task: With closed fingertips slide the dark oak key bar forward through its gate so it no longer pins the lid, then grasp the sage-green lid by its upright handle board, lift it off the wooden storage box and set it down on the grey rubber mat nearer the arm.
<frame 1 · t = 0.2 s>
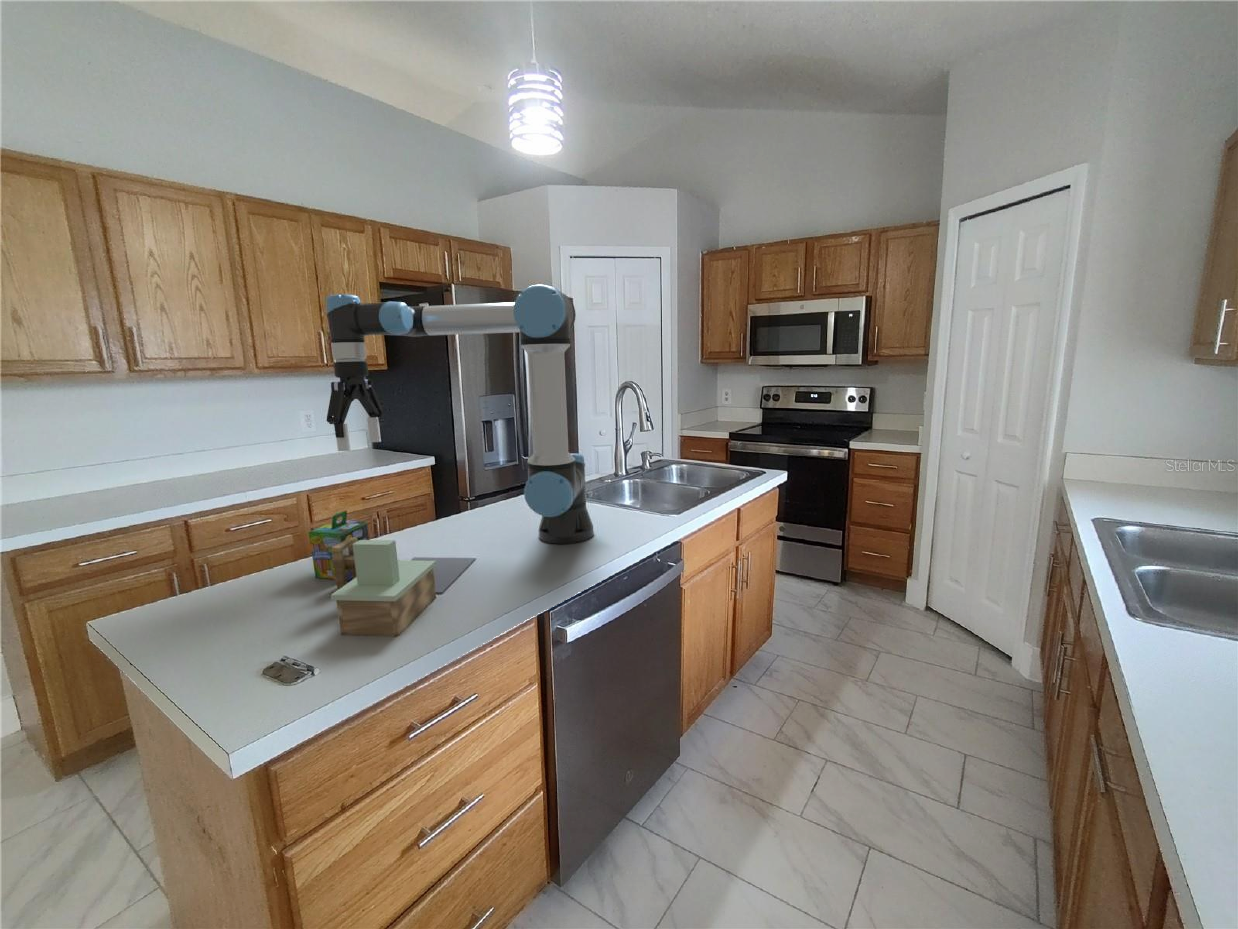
hand: (360, 446, 139), 28 cm above the countertop, fingers open, 13 cm apart
chalk box: (344, 573, 131), on the countertop
wooden storage box: (391, 615, 108), on the countertop
key: (360, 557, 110), point 10 cm above the countertop, slide at 0.0 cm
lid: (387, 581, 106), point 7 cm above the countertop, touching wooden storage box
mat: (427, 574, 128), on the countertop
pill bottle: (352, 587, 122), on the countertop
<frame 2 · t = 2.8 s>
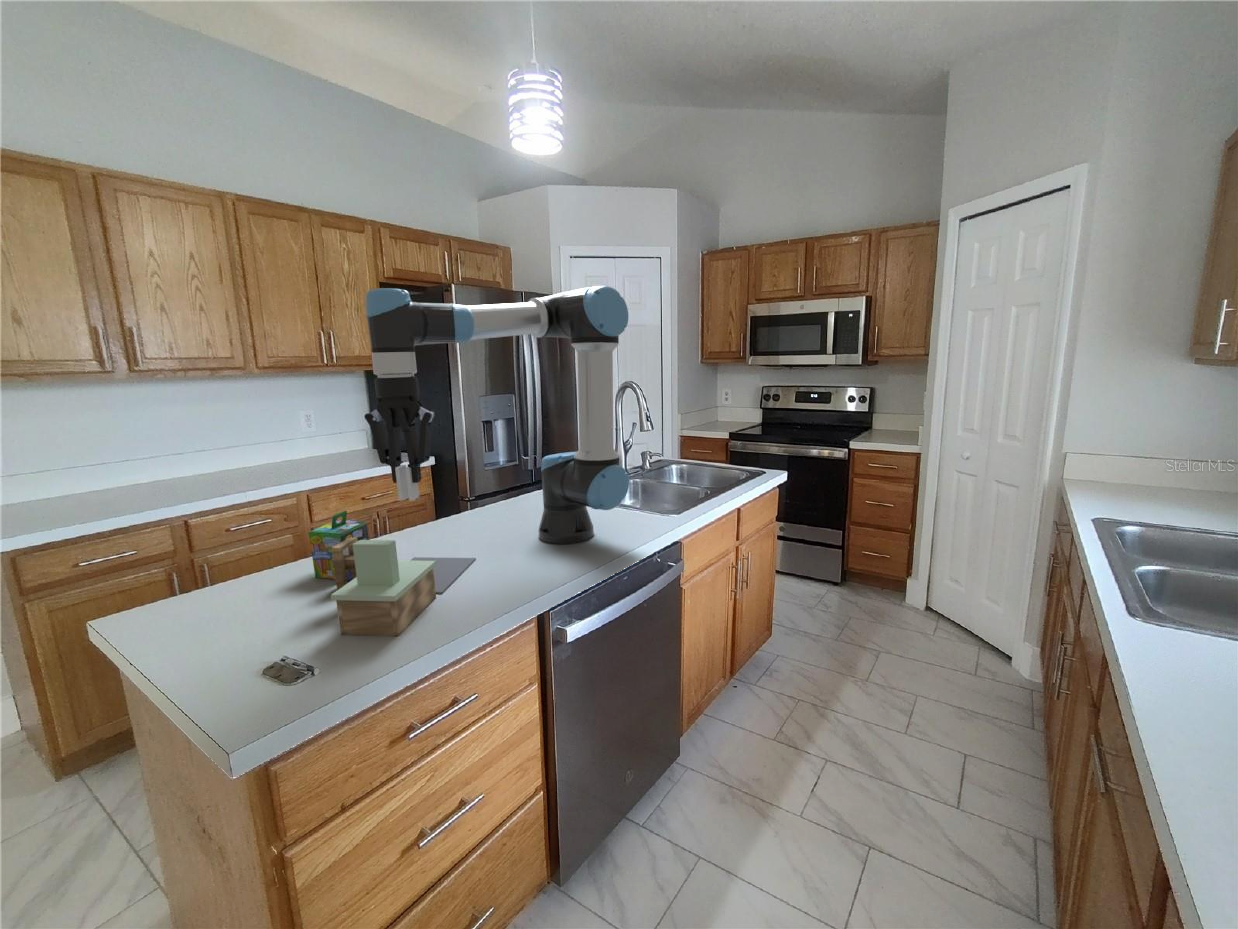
hand: (409, 498, 107), 22 cm above the countertop, fingers closed
nothing on the countertop moved.
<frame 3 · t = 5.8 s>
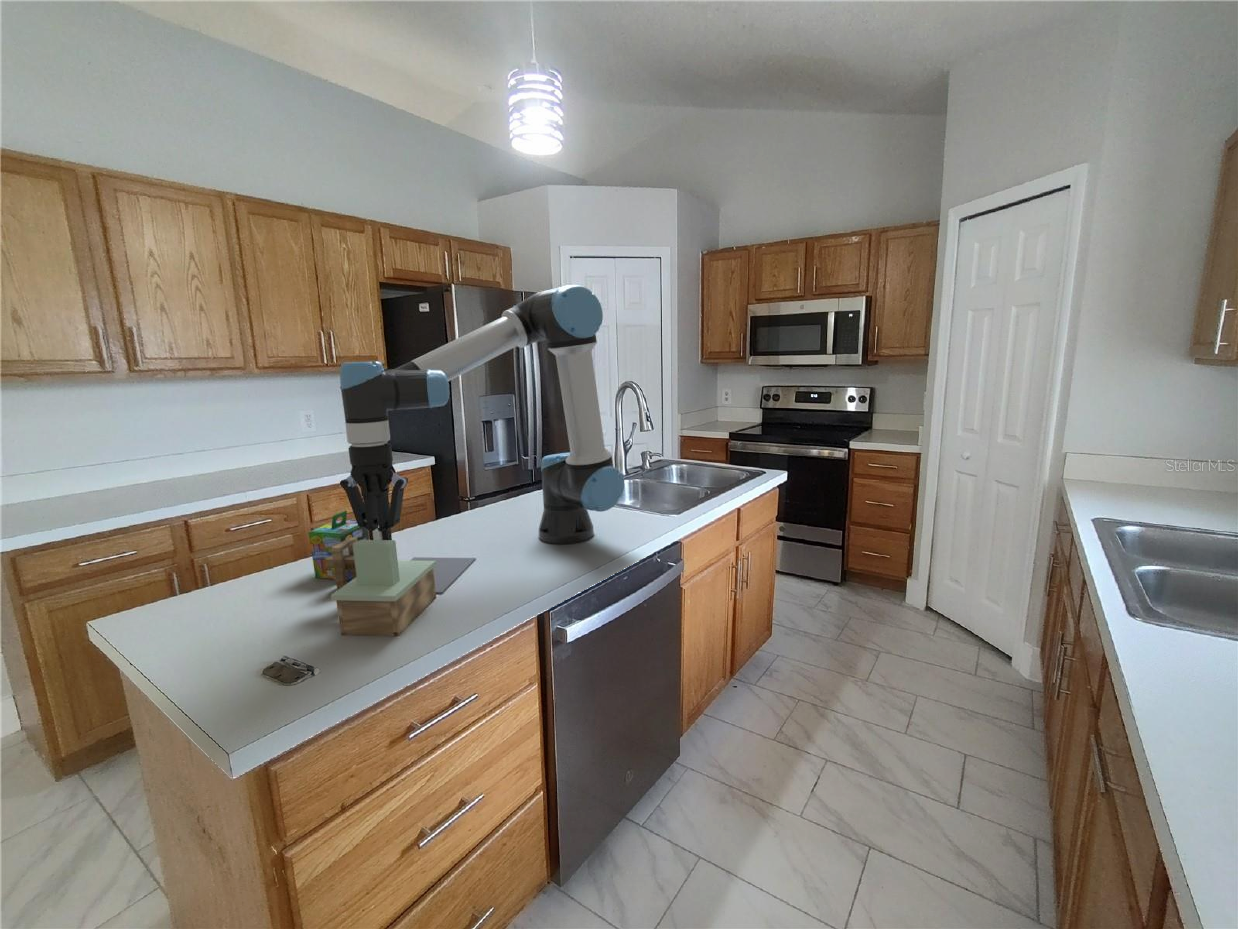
hand: (383, 560, 110), 10 cm above the countertop, fingers closed
key: (353, 556, 111), point 10 cm above the countertop, slide at 1.5 cm, touching gripper
everything else where it was.
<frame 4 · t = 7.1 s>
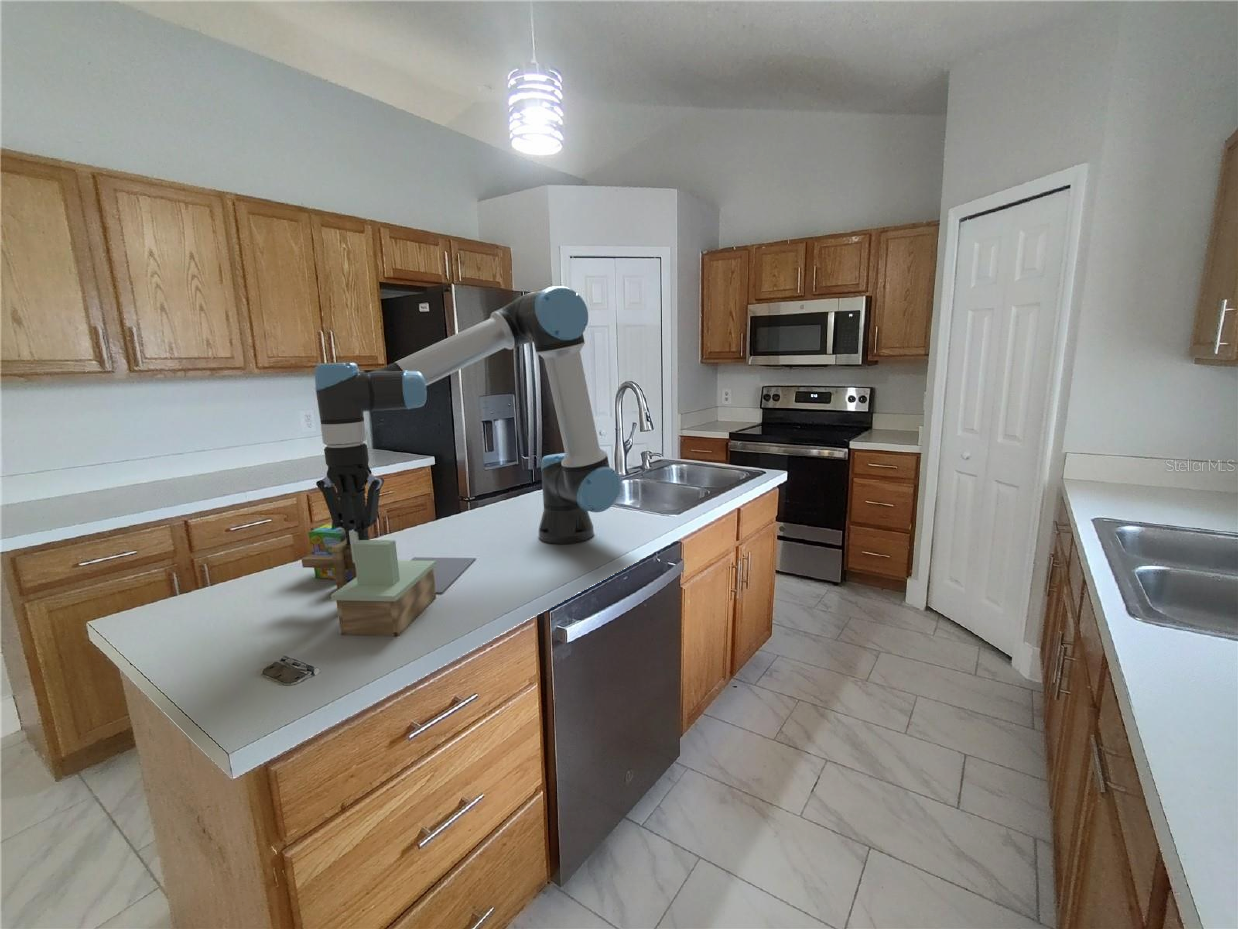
hand: (360, 560, 111), 10 cm above the countertop, fingers closed
key: (330, 556, 111), point 10 cm above the countertop, slide at 6.4 cm, touching gripper
everything else where it was.
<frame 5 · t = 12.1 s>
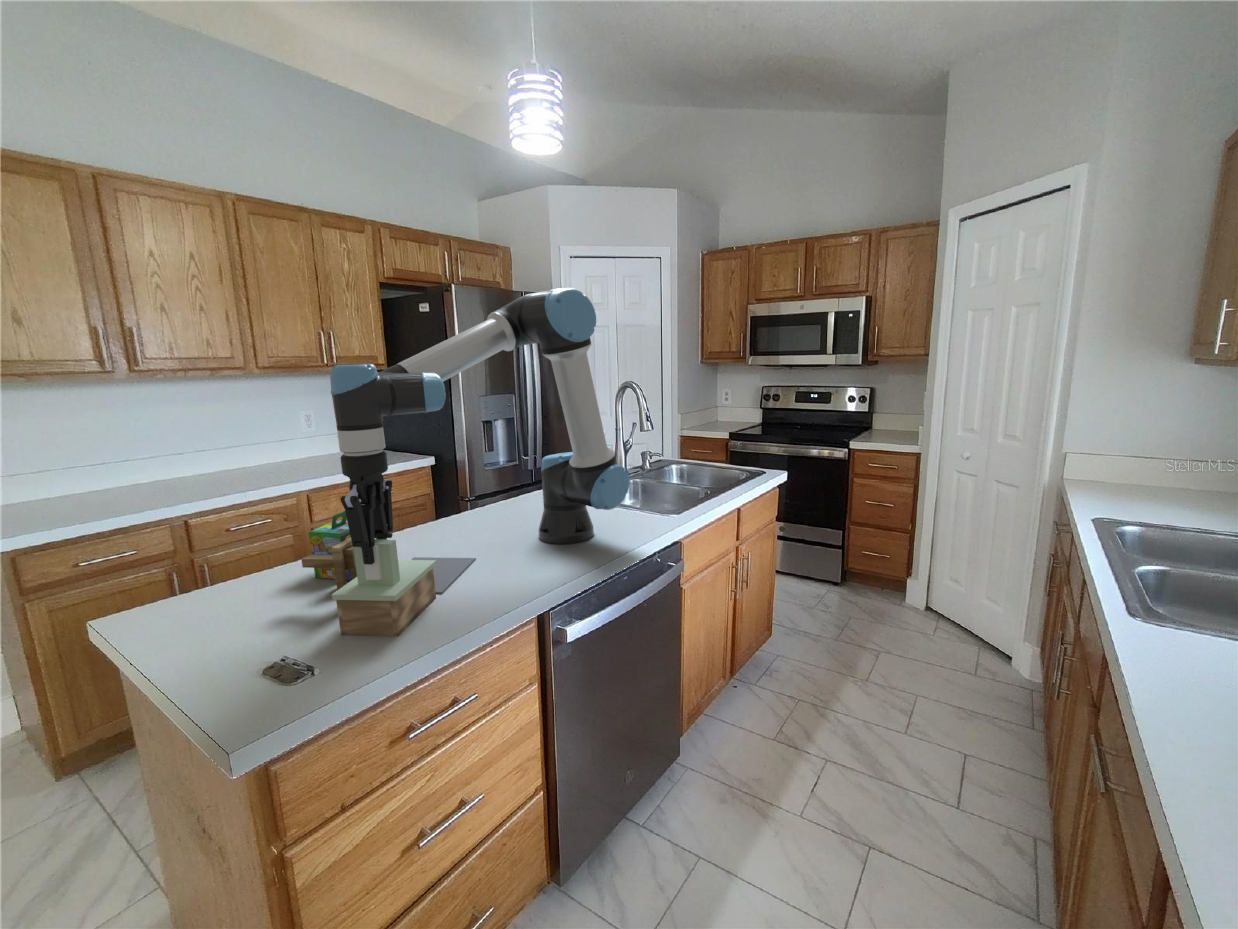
hand: (378, 575, 103), 9 cm above the countertop, fingers closed on lid, 2 cm apart
key: (330, 556, 111), point 10 cm above the countertop, slide at 6.4 cm
lid: (388, 581, 107), point 7 cm above the countertop, touching gripper
everything else where it was.
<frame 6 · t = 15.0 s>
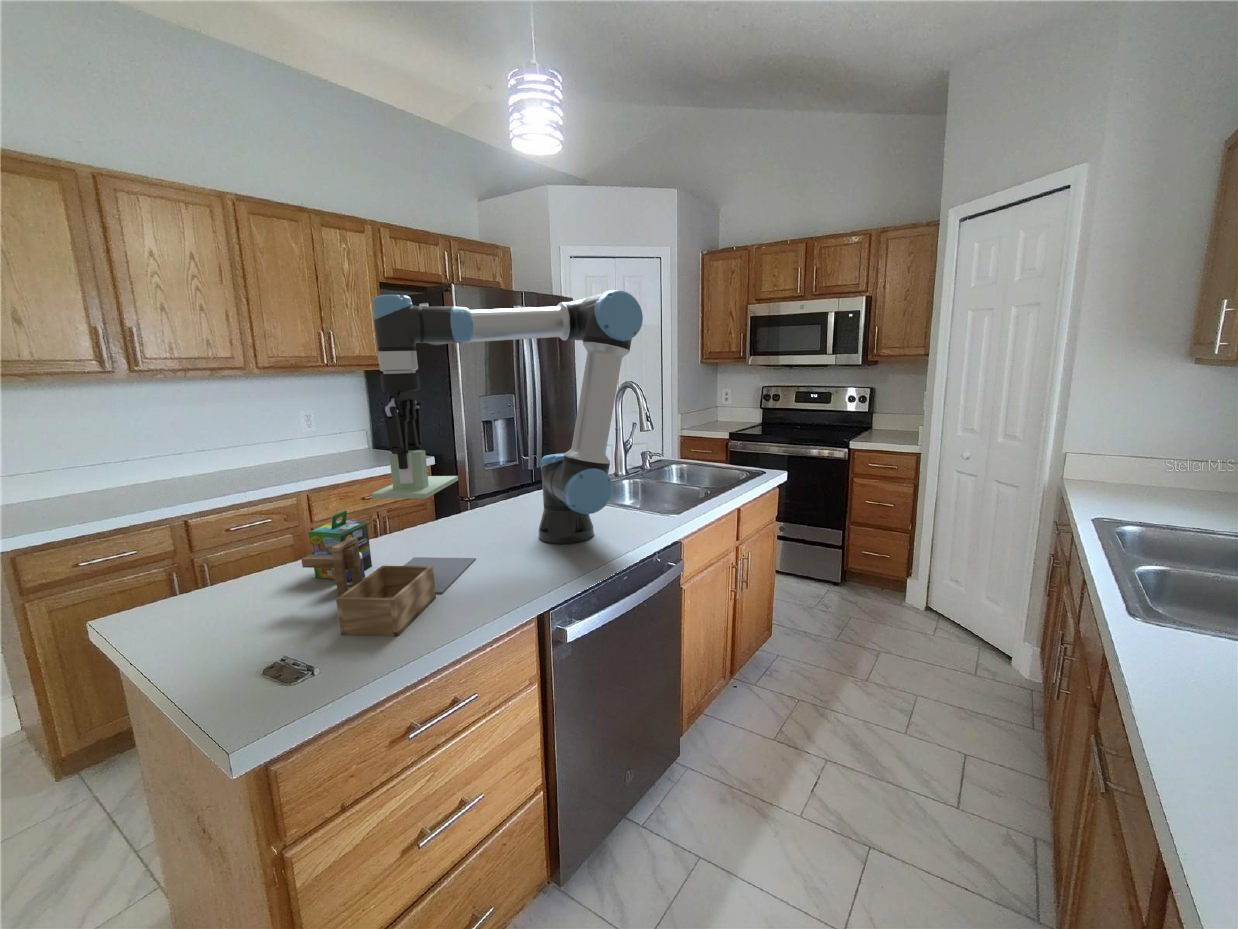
hand: (410, 481, 120), 23 cm above the countertop, fingers closed on lid, 2 cm apart
lid: (417, 488, 124), point 21 cm above the countertop, touching gripper
everything else where it was.
when the fingers open (4 cm above the countertop, at t = 17.9 s): lid drops 1 cm, resting on mat.
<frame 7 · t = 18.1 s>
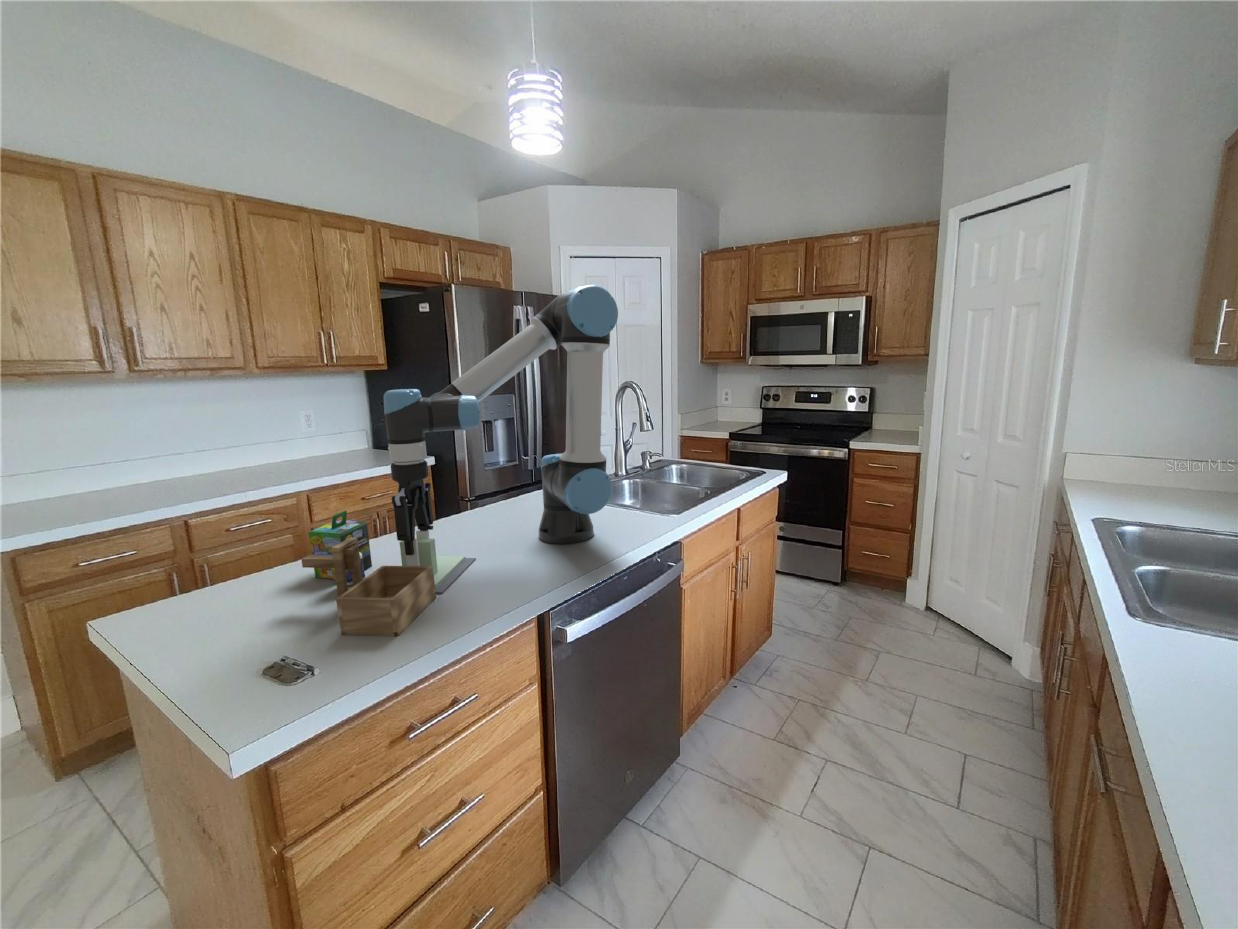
hand: (419, 562, 124), 4 cm above the countertop, fingers open, 5 cm apart
lid: (426, 573, 127), resting on mat
everything else where it was.
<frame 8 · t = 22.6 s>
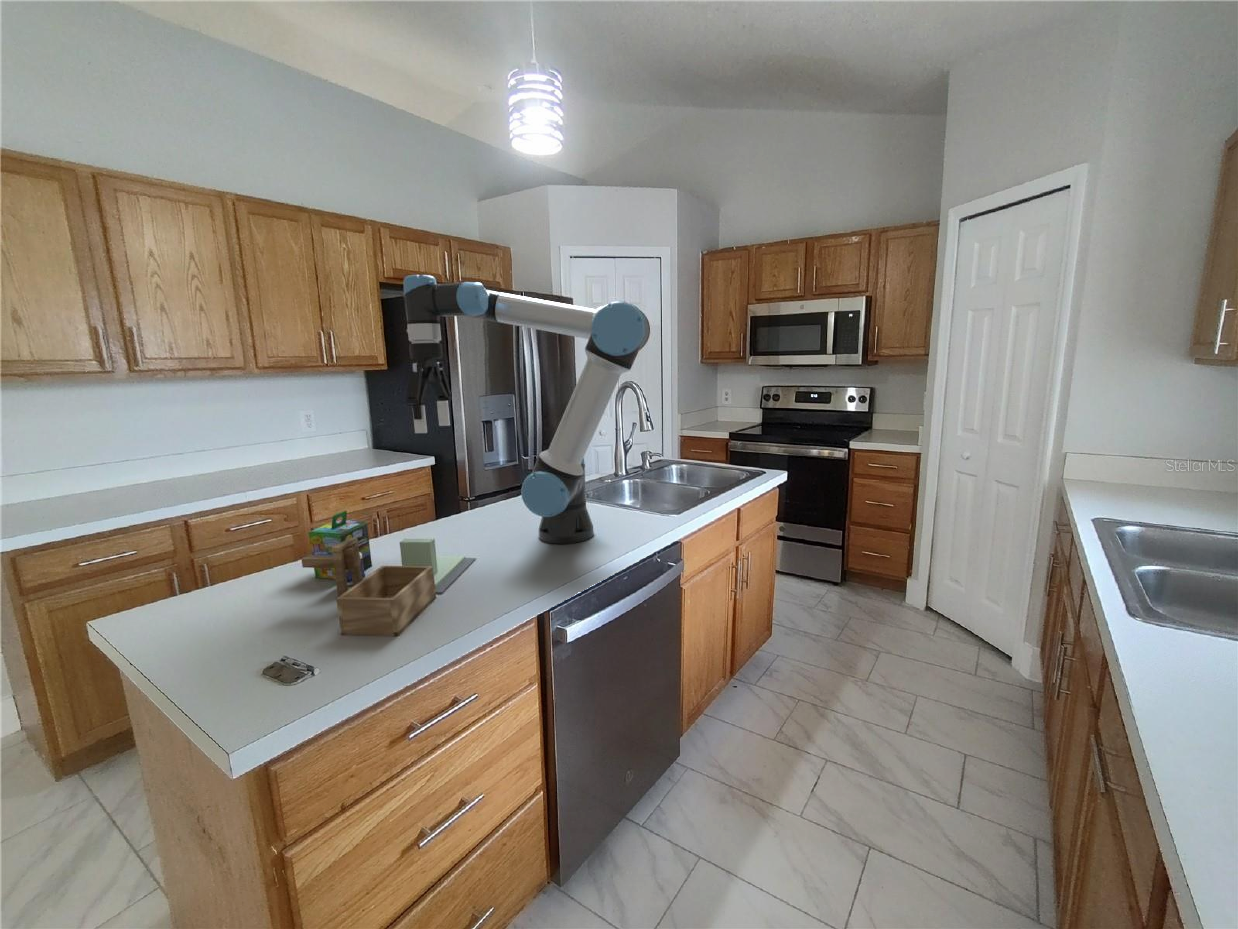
hand: (433, 429, 138), 32 cm above the countertop, fingers open, 13 cm apart
nothing on the countertop moved.
at the end: key slide at 6.4 cm; lid inside the target area (0.5 cm from its centre), resting on mat; lid tilted 0° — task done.
